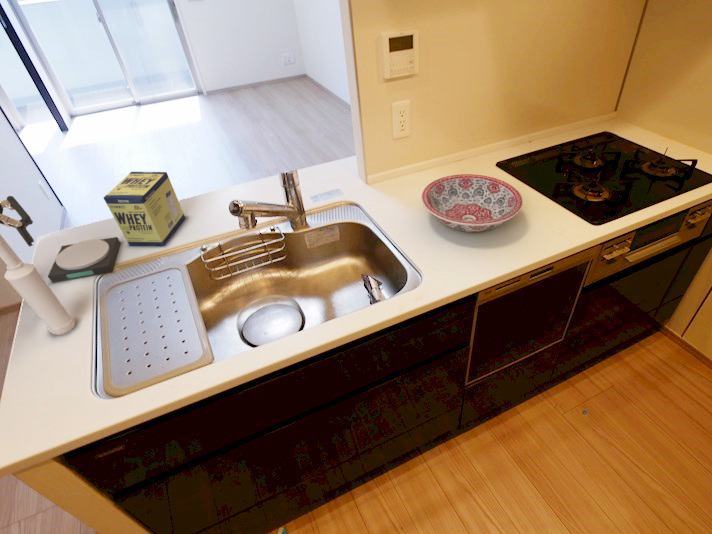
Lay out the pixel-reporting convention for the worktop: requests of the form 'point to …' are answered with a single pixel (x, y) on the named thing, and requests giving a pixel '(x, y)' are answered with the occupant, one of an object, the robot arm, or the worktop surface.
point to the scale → (85, 259)
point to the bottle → (36, 293)
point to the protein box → (145, 208)
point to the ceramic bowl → (471, 201)
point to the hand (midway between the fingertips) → (6, 253)
